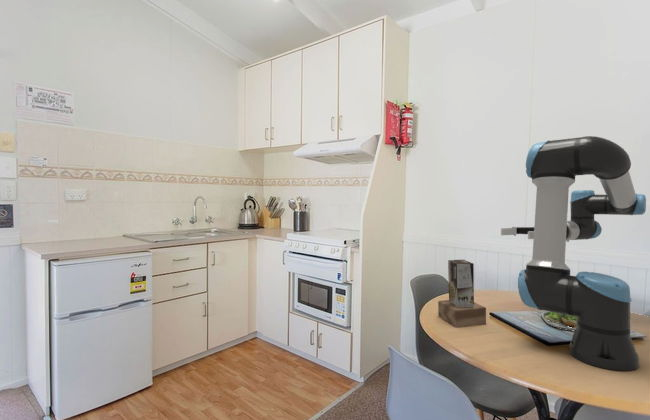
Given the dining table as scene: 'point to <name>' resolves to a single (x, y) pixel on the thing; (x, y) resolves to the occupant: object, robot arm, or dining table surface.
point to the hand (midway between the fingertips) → (514, 233)
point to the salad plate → (560, 320)
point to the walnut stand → (461, 314)
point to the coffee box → (461, 283)
